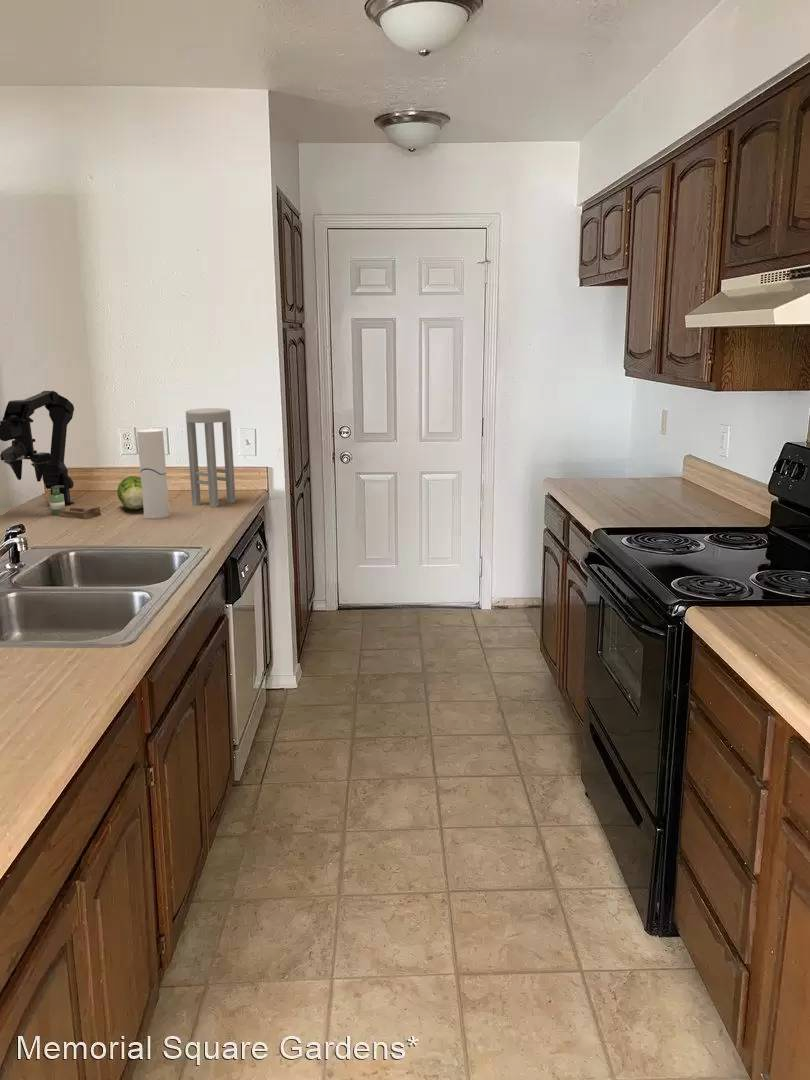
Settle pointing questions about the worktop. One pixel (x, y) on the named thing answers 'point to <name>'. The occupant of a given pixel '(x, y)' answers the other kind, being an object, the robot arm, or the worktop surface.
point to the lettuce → (131, 492)
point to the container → (153, 473)
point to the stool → (210, 454)
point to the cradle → (80, 513)
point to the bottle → (56, 501)
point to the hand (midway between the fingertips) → (29, 480)
